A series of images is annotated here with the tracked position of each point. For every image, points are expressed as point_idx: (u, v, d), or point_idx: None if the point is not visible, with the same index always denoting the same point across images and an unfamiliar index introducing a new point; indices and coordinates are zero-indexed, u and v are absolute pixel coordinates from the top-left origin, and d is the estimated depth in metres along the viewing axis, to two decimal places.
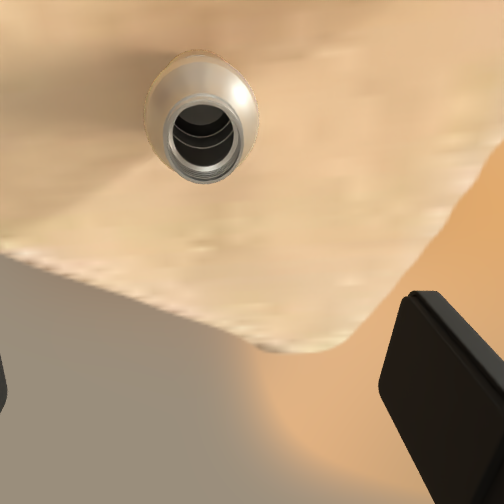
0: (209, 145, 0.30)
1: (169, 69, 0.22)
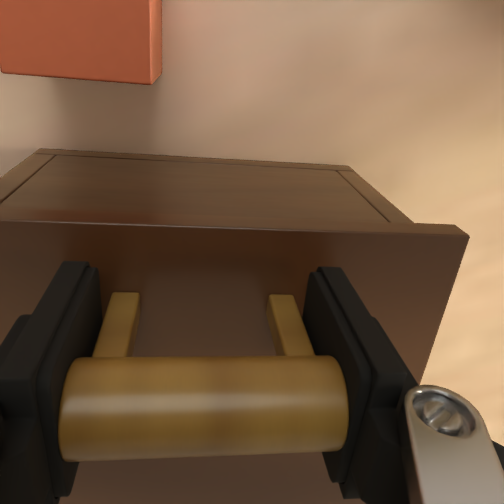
0: None
1: None
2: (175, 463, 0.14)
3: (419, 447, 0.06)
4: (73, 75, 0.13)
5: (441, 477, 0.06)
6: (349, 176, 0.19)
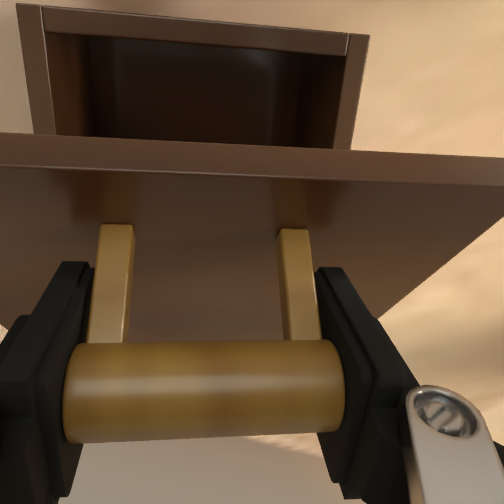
0: None
1: None
2: (179, 317, 0.15)
3: (420, 447, 0.06)
4: None
5: (442, 477, 0.06)
6: None
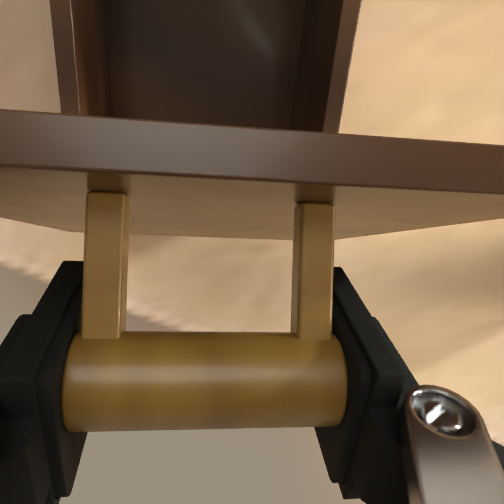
0: None
1: None
2: (184, 222, 0.14)
3: (419, 447, 0.06)
4: None
5: (441, 477, 0.06)
6: None
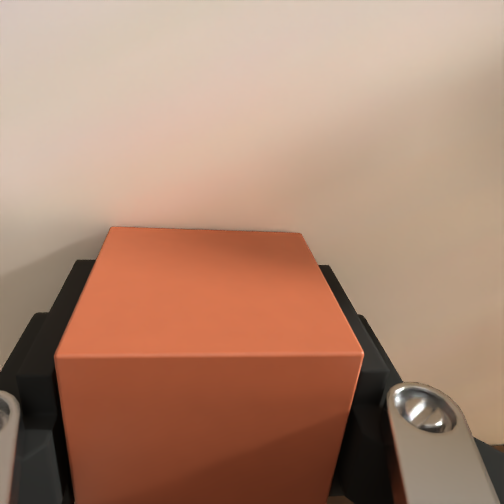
0: None
1: None
2: None
3: (402, 445, 0.06)
4: None
5: (419, 473, 0.06)
6: None
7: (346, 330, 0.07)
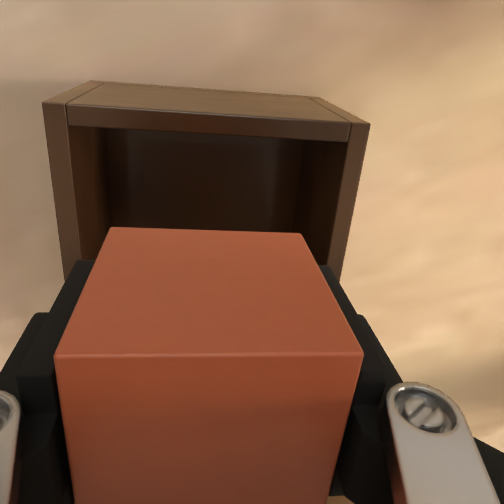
0: None
1: None
2: None
3: (402, 445, 0.06)
4: None
5: (419, 473, 0.06)
6: (318, 100, 0.25)
7: (346, 331, 0.07)
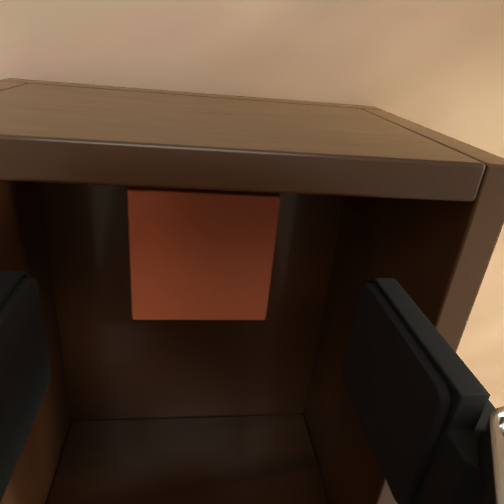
0: None
1: None
2: None
3: (500, 464, 0.06)
4: (197, 318, 0.14)
5: None
6: (379, 113, 0.16)
7: None
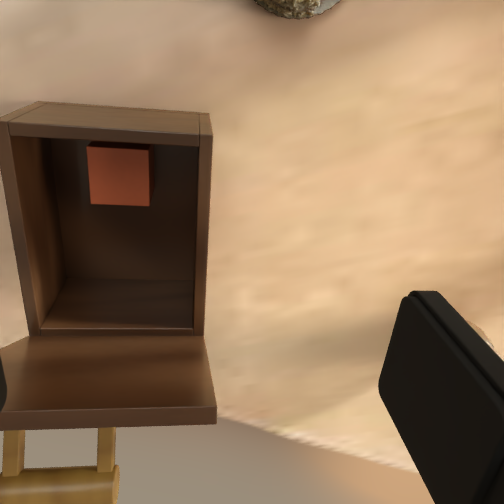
0: None
1: None
2: None
3: None
4: (118, 204, 0.34)
5: None
6: (202, 116, 0.35)
7: (147, 148, 0.33)
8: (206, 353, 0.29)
